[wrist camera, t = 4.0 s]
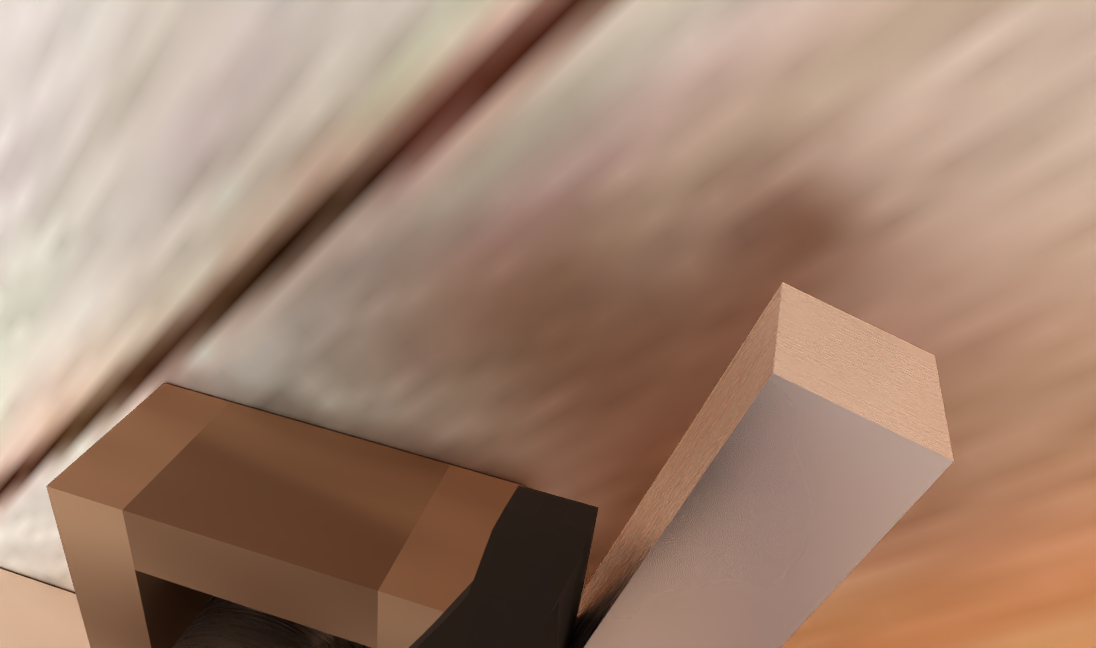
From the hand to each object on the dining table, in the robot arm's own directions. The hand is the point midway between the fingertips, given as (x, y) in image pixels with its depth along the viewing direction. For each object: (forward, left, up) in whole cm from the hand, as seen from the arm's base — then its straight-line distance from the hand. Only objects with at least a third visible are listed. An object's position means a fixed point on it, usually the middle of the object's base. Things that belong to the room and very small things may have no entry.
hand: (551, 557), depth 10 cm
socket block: (-6, +5, -4) cm, 9 cm away
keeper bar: (-5, 0, 0) cm, 5 cm away
